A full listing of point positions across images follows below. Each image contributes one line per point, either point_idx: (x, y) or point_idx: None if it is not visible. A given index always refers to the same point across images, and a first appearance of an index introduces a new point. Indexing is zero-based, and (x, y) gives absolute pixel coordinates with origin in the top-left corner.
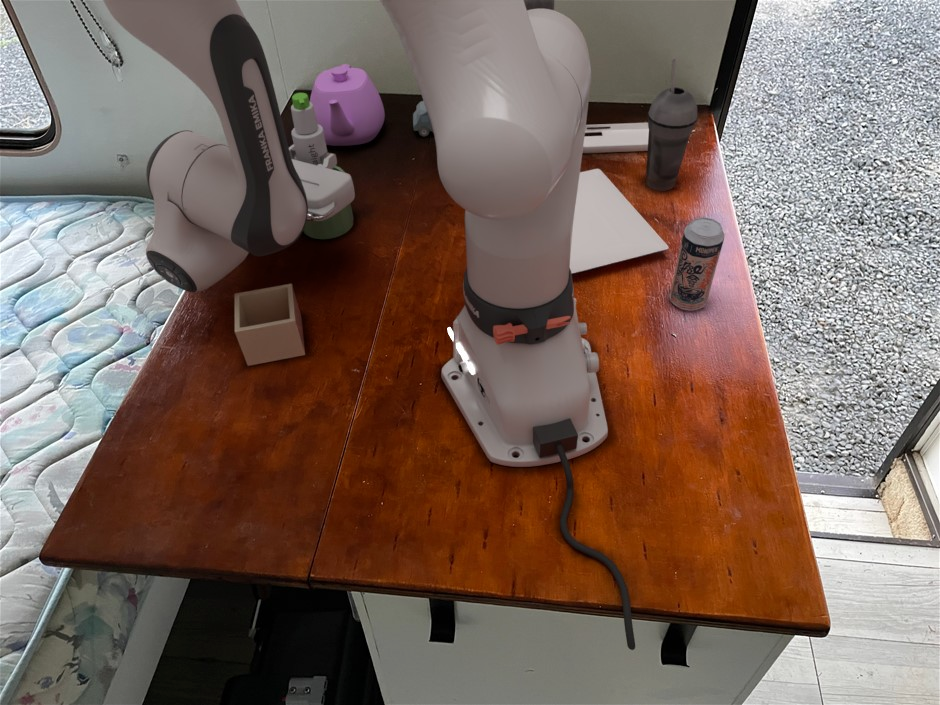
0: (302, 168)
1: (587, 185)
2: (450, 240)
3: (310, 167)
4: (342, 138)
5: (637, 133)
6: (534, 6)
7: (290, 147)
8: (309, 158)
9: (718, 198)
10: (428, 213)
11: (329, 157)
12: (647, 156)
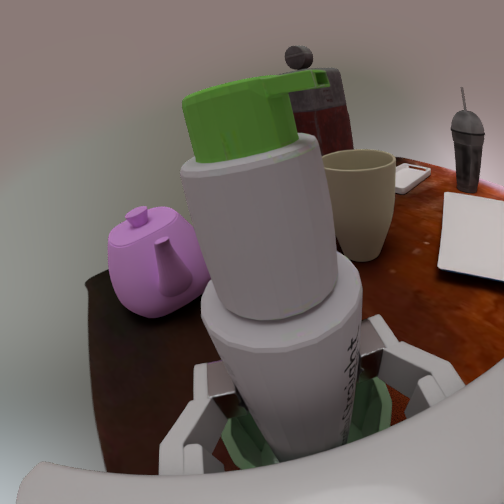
0: (450, 458)
1: (460, 205)
2: (488, 326)
3: (466, 422)
4: (180, 297)
5: (402, 173)
6: (331, 76)
7: (199, 388)
8: (340, 390)
9: (492, 183)
10: (417, 319)
11: (393, 334)
12: (463, 168)
